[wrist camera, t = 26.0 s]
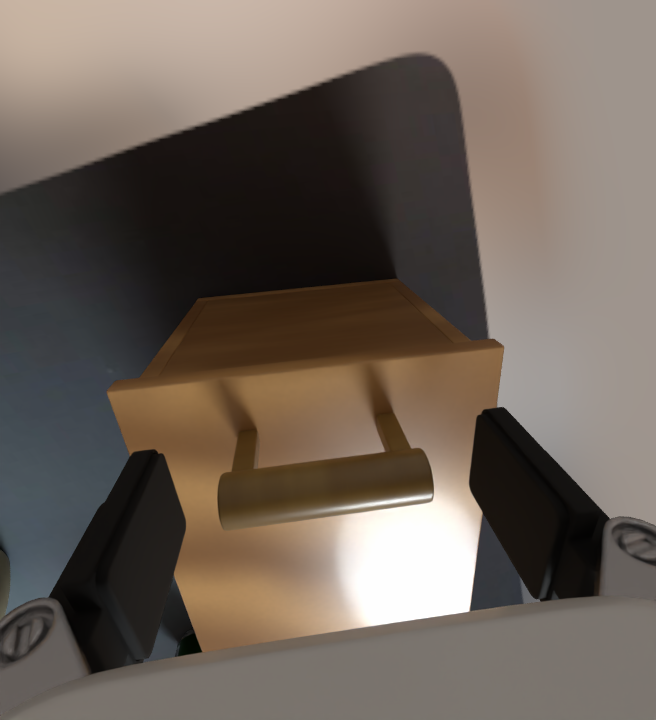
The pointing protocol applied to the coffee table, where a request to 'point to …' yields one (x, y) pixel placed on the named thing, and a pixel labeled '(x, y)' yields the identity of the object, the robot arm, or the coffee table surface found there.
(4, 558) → the flower pot
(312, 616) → the lid
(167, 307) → the coffee table surface
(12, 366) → the coffee table surface
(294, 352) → the chest
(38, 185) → the coffee table surface
